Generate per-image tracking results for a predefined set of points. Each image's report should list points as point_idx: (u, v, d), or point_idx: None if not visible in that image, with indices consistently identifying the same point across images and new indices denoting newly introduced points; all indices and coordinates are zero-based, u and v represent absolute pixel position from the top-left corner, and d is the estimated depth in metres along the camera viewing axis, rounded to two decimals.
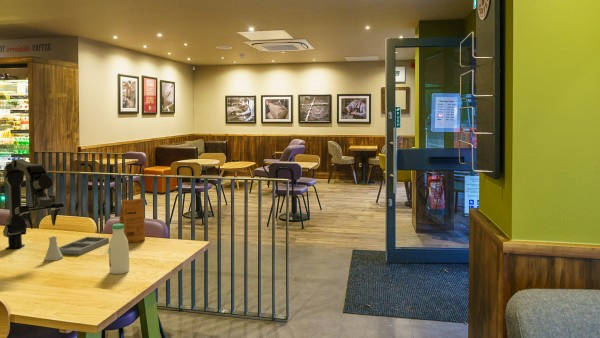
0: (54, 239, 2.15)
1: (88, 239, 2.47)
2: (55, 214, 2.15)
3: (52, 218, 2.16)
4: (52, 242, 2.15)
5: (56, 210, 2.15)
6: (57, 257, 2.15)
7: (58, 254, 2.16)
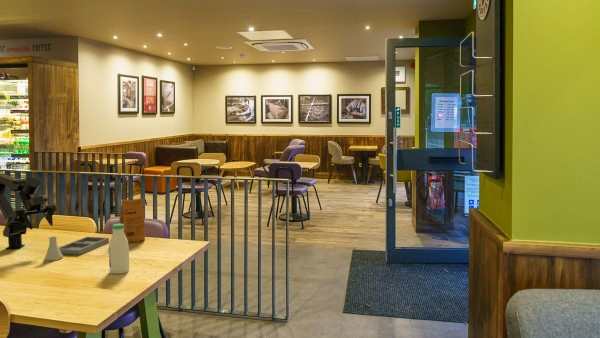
0: (54, 239, 2.15)
1: (88, 239, 2.47)
2: (50, 215, 2.26)
3: (49, 220, 2.25)
4: (52, 242, 2.15)
5: (50, 211, 2.26)
6: (57, 257, 2.15)
7: (58, 254, 2.16)
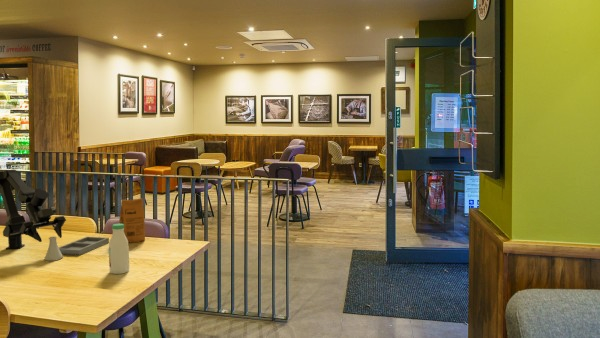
0: (54, 239, 2.15)
1: (88, 239, 2.47)
2: (59, 227, 2.22)
3: (57, 232, 2.22)
4: (52, 242, 2.15)
5: (59, 222, 2.23)
6: (57, 257, 2.15)
7: (58, 254, 2.16)
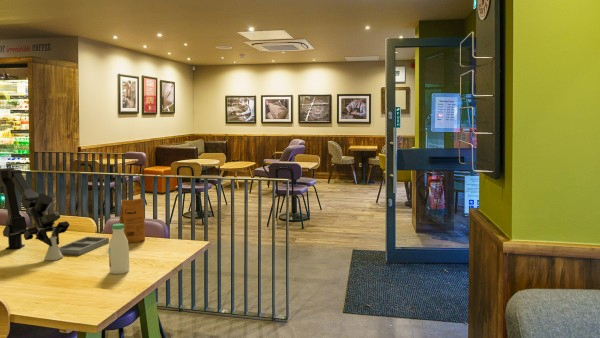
0: (54, 239, 2.15)
1: (88, 239, 2.47)
2: (57, 233, 2.19)
3: None
4: (52, 242, 2.15)
5: (56, 229, 2.19)
6: (57, 257, 2.15)
7: (58, 254, 2.16)
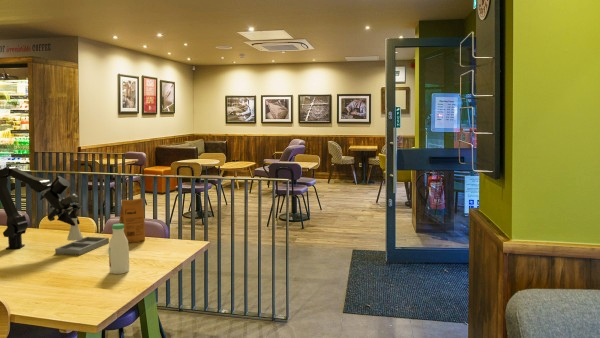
0: (76, 220, 2.28)
1: (88, 239, 2.47)
2: (75, 214, 2.31)
3: None
4: (75, 223, 2.28)
5: (75, 210, 2.31)
6: (80, 236, 2.29)
7: (80, 234, 2.29)
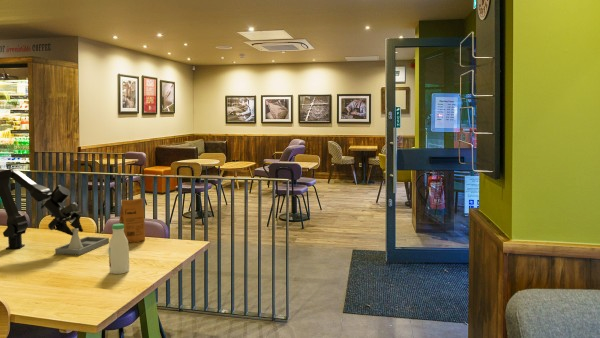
0: (77, 230, 2.29)
1: (88, 239, 2.47)
2: (78, 222, 2.33)
3: (77, 227, 2.33)
4: (76, 233, 2.28)
5: (78, 217, 2.33)
6: (81, 247, 2.29)
7: (81, 244, 2.30)
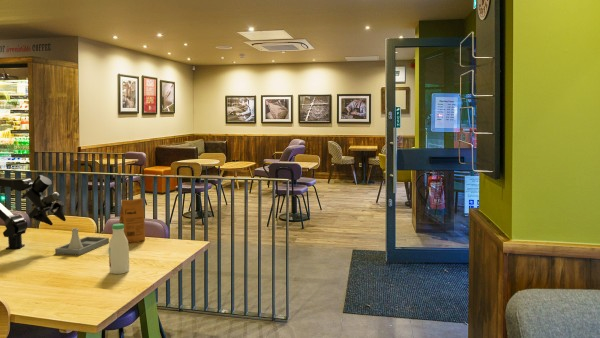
0: (77, 230, 2.29)
1: (88, 239, 2.47)
2: (61, 211, 2.35)
3: (60, 216, 2.35)
4: (76, 233, 2.28)
5: (61, 207, 2.35)
6: (81, 247, 2.29)
7: (81, 244, 2.30)
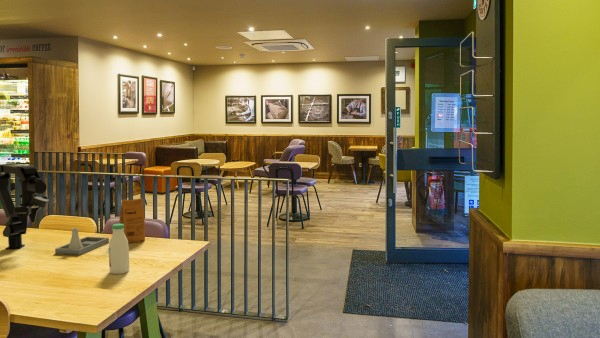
0: (77, 230, 2.29)
1: (88, 239, 2.47)
2: (36, 212, 2.33)
3: (32, 215, 2.32)
4: (76, 233, 2.28)
5: (39, 208, 2.33)
6: (81, 247, 2.29)
7: (81, 244, 2.30)
